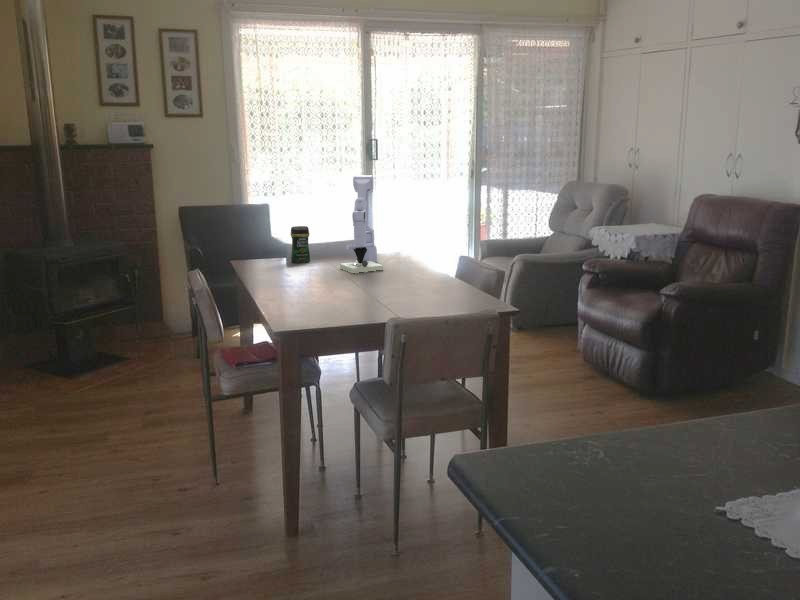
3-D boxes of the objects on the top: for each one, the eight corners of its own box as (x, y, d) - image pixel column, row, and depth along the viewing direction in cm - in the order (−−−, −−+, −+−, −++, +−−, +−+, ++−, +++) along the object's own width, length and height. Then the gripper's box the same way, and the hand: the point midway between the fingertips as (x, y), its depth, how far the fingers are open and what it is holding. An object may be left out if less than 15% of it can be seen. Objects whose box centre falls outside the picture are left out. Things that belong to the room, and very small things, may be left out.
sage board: (369, 265, 364) (369, 260, 364) (383, 270, 352) (383, 265, 351) (340, 268, 357) (340, 263, 356) (353, 273, 344) (352, 268, 344)
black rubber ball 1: (361, 261, 362) (361, 255, 361) (363, 262, 359) (363, 256, 358) (355, 262, 360) (355, 256, 360) (358, 262, 358) (358, 256, 357)
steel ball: (350, 268, 353) (355, 270, 355) (353, 269, 350) (359, 271, 352) (352, 262, 353) (357, 264, 355) (355, 263, 350) (360, 265, 352)
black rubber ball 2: (366, 265, 350) (366, 259, 349) (369, 266, 347) (368, 260, 347) (360, 266, 349) (360, 260, 348) (363, 267, 346) (363, 261, 345)
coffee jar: (292, 263, 371) (291, 227, 367) (290, 261, 378) (289, 225, 374) (311, 262, 374) (310, 226, 369) (309, 260, 381) (307, 224, 377)
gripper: (349, 237, 343) (350, 265, 347) (377, 235, 350) (377, 263, 353) (343, 235, 349) (344, 263, 353) (370, 233, 356) (371, 260, 359)
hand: (360, 263), depth 353 cm, fingers closed
